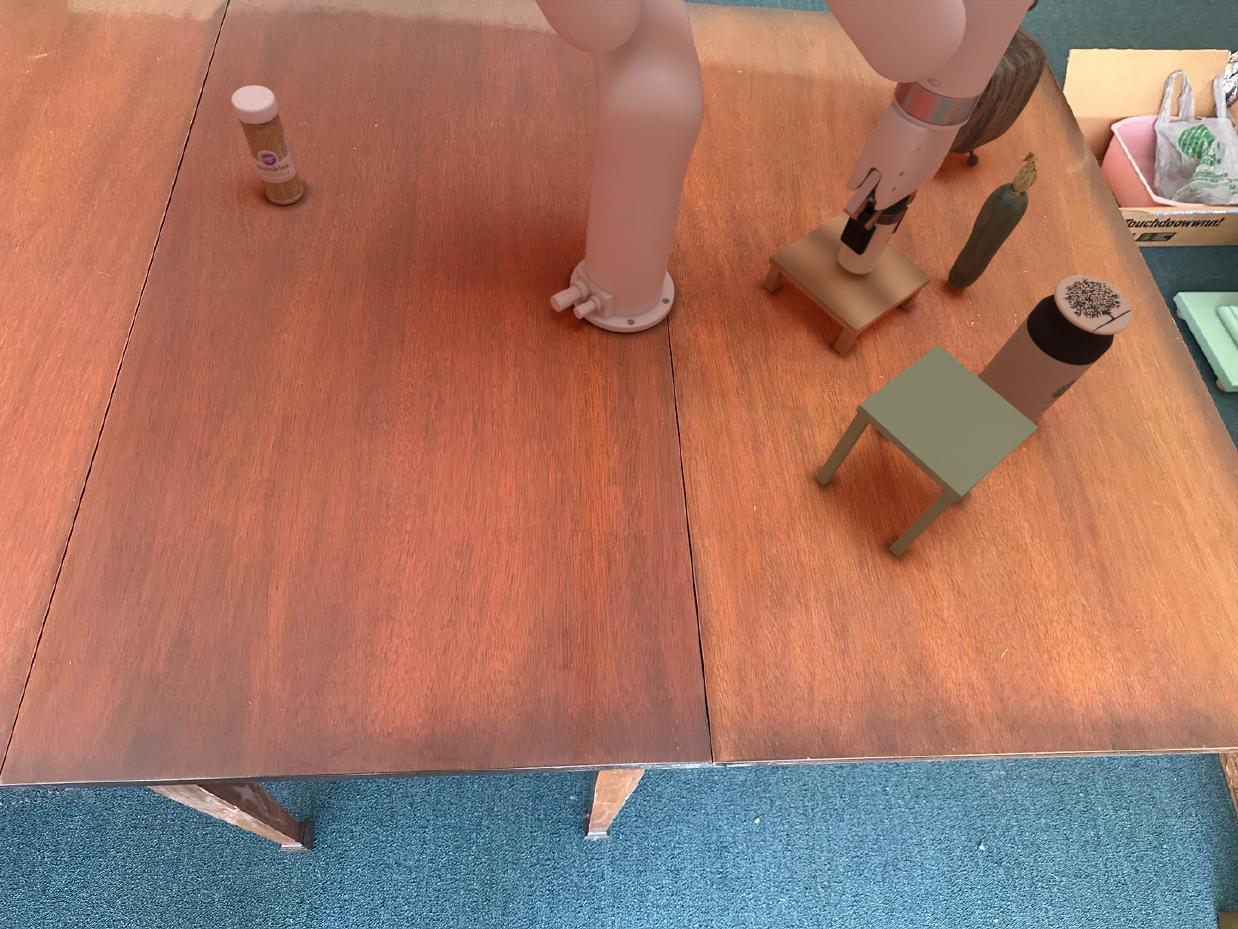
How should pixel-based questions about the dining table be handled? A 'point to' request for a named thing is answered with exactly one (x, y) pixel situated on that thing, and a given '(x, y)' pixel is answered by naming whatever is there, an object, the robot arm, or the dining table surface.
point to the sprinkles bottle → (268, 143)
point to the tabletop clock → (1003, 94)
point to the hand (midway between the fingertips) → (867, 235)
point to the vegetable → (993, 226)
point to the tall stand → (938, 430)
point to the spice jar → (873, 240)
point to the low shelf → (846, 280)
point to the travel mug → (1057, 343)
